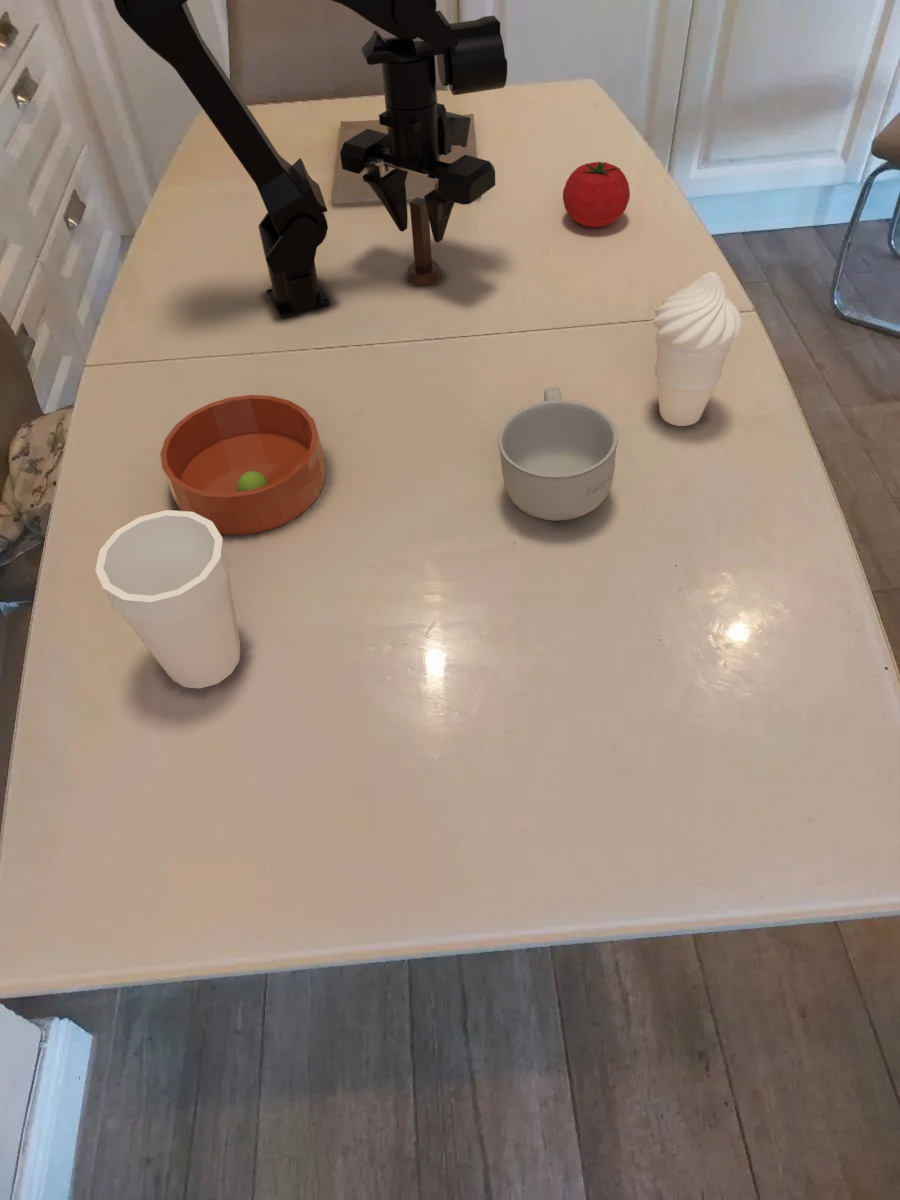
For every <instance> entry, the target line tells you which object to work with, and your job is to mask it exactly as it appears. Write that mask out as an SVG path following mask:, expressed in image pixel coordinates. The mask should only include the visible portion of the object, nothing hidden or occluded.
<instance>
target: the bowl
mask: <svg viewBox="0 0 900 1200" xmlns="http://www.w3.org/2000/svg"><path fill="white" fill-rule="evenodd" d="M322 451H323V450H322V446H321V439H320V436H319V431H318V428H317V425H316V422H315V419H314V418H313V417H312V416H311V415H310V414H309V412H307V411H306V409H304V408H303V407H301V406H300V405H298V404H296V403H294V402H293V401H291V400H288V399H284V398H281V397H276V396H273V395H263V394H262V395H261V394H246V395H239V396H232V397H231V396H230V397H226V398H223V399H220V400H216V401H214V402H213V401H212V402H210V403H207V404H205V405H204V406H202V407H200V408H197V409H195V410H194V411H192V412H190V413H189V414H187V415H186V416H184V417H183V418H182V419H181V420H180V421H178V422H177V423H176V424H174V426H173V427H172V429H171V430H170V432H169V433H168V434H167V436H166V437H165V438H164V441H163V443H162V447H161V450H160V453H159V455H160V464H161V469H162V471H163V473H164V475H165V480H166V482H167V485H168V487H169V489H170V492H171V494H172V497H173V500H174V502H175V504H176V506H177V508H178V509H179V510H178V511H188V512H194V513H196V514H198V515H200V516H202V517H204V518H206V519H208V520H210V521H212V522H213V523H214V525H215V527H216V528H217V530H218V531H219V533H220V535H231V536H233V535H236V536H237V535H250V534H251V535H252V534H256V533H262V532H265V531H269V530H272V529H275V528H277V527H280V526H283V525H285V524H287V523H288V522H291V521H292V520H294V519H296V518H297V517H299V516H300V515H301V514H303V513H304V512H305V511H306V510H307V509H309V508H310V507H311V505H312V504H314V502H315V501H316V499H317V498H318V497H319V495H320V493H321V491H322V489H323V486H324V483H325V478H326V464H325V461H324V456H323V452H322ZM250 471H255V472H259V473H261V474H262V475H263V476H264V477H265V478H266V479H267V481H268V484H267V485H264V486H261V487H258V488H255V489H252V490H247V491H240V492H238V489H237V484H238V480H239V478H240V477H241V476H242V475H243V474H244V473H246V472H250Z"/></svg>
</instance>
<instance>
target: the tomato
mask: <svg viewBox="0 0 900 1200" xmlns="http://www.w3.org/2000/svg"><path fill="white" fill-rule="evenodd" d="M608 162H609V161H606V162H603V161H595V162H588V163H587V162H585V164H581V165H579V166H578V167H576V169H574V170H573V171H572V172H571V173H570V175H569V177H568V178H567V180H566V182H565V185H564V187H563V190H562V191H563V192H562V201H563V205H564V209H565V212H566V213H567V214H568V215H569V217H570V219H572V220H573V221H574V222H576V223H578V224H579V225H582V226H583V227H586V228H602V227H606V226H608V225H610V224H612V223H614V222H615V221H617V220H618V219H620V217H621V216H622V215H623V213H624V212H625V211H626V209H627V207H628V205H629V201H630V198H631V191H630V185H629V181H628V180H627V179H628V178H627V177H626V175H625V173H624V172H623V171H622V170H621V169H622V168H621V167H618V166H616V165H614V164H611V163H608Z"/></svg>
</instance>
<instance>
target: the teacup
mask: <svg viewBox="0 0 900 1200" xmlns="http://www.w3.org/2000/svg"><path fill="white" fill-rule="evenodd" d="M618 442H619V433H618V429H617V427H616V424H615V423H614V420H612V418H611V417H610V416H609V415H608V414H607V413H606V412H604V411H603V410H602V409H600V408H598V407H596V406H594V405H592V404H589V403H587V402H582V401H577V400H570V399H562V391H561V388H559V386H558V387H557V386H551V387H547V388H546V389H544V393H543V401H539V402H535V403H532V404H529V405H526V406H524V407H522V408H521V409H518V410H516V412H514V413H513V414H511V415H510V416H509V417H508V418H507V419H506V420H505V421H504V423H502V426H501V428H500V430H499V432H498V436H497V446H498V451H499V455H500V463H501V464H500V465H501V466H500V467H501V472H502V473H501V474H502V479H503V483H504V487H505V490H506V493H507V495H508V497H509V498H510V499H511V501H512V502H513V504H514V505H515V506H516V507H518V508H519V509H520V510H521V511H523V512H524V513H526V514H527V515H529V516H532V517H535V518H537V519H540V520H546V521H554V522H555V521H567V520H568V521H569V520H574V519H578V518H580V517H582V516H585V515H587V514H589V513H591V512H593V511H594V510H595V509H596V508H597V507H599V506H600V505H601V504H602V503H603V501H604V500H605V499H606V498H607V496H608V495H609V492H610V490H611V488H612V484H613V481H614V475H615V468H616V467H615V466H616V456H617V454H616V453H617V447H618Z"/></svg>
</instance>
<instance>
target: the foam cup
mask: <svg viewBox="0 0 900 1200" xmlns="http://www.w3.org/2000/svg"><path fill="white" fill-rule="evenodd" d="M230 560H231V559H230V556H229V553H228V550H227V547H226V545H225V541H224V538H223V536H222V534H221V533H219V531H218V530H217V528H216V527H215V525H214V523H213V522H212V521H210V520H208V519H206V518H204V517H202V516H200V515H198V514H196V513H194V512H188V511H180V510H170V509H166V510H162V511H158V512H154V513H149V514H145V515H141V516H138V517H136V518H135V519H133V520H132V521H130V522H128V523H127V524H124V525H123V526H122V527H120V528H118V529H116V530H115V531H114V532H113V533H112V535H111V536H110V537H109V538H108V539H107V541H106V542H105V543H104V544H103V545H102V547H101V548H100V549H99V552H98V557H97V560H96V564H95V569H94V571H95V574H96V575H97V578H98V580H99V582H100V585H101V587H102V588H103V591H104V592H105V595H106V596H107V599H108V600H109V602H110V604H111V606H112V608H113V610H115V611H117V612H118V613H120V615H121V616H122V617H123V618H124V619H125V621H126V622H127V623H128V625H129V626H130V627H131V629H132V630H133V631H134V633H135V634H136V635H137V637H138V638H139V639H140V641H141V642H142V643H143V644H144V645H145V647H146V648H147V650H148V651H149V652H150V653H151V655H152V656H153V658H155V660H156V661H157V662H158V664H159V665H160V666H161V668H162V669H163V670H164V672H165V673H166V674H167V675H168V677H170V678H171V680H172V681H173V682H175V683H176V684H178V685H180V686H181V687H184V688H189V689H205V688H207V687H211V686H214V685H217V684H219V683H221V682H222V681H223V680H225V679H226V678H228V677H229V676H230V675H232V674H233V672H234V670H235V669H236V667H237V666H238V665H239V663H240V658H241V641H240V634H239V628H238V621H237V616H236V615H237V614H236V609H235V602H234V601H235V600H234V595H233V589H232V583H231V582H232V581H231V576H230V575H231V574H230Z"/></svg>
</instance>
